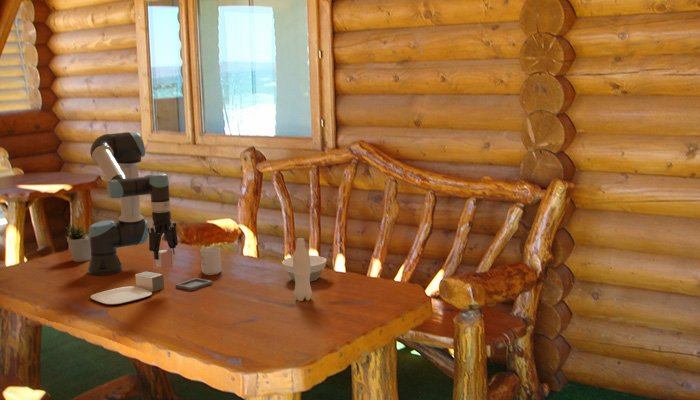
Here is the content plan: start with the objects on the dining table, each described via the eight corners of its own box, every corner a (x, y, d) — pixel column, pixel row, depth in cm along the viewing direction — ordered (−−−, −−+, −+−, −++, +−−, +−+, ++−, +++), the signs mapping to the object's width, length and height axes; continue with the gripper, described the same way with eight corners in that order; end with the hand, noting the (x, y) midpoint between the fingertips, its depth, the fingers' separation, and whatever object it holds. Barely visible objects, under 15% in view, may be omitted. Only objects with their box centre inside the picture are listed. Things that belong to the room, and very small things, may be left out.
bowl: (301, 288, 346) (300, 269, 345) (274, 279, 361) (273, 261, 359) (336, 278, 359) (335, 260, 357) (308, 270, 373) (307, 253, 372)
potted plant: (74, 256, 416) (70, 218, 412) (99, 256, 414) (96, 218, 410) (62, 263, 403) (58, 223, 400) (88, 263, 402) (84, 223, 398)
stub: (153, 268, 345) (151, 252, 344) (164, 265, 350) (162, 249, 349) (161, 270, 343) (160, 253, 341) (172, 266, 347) (170, 250, 346)
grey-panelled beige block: (136, 287, 355) (135, 274, 353) (147, 284, 359) (146, 271, 358) (153, 291, 348) (152, 277, 347) (164, 288, 353) (163, 274, 352)
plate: (131, 288, 356) (131, 284, 356) (158, 297, 341) (158, 293, 341) (84, 299, 341) (84, 295, 341) (110, 309, 326) (110, 305, 326)
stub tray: (175, 287, 353) (175, 284, 352) (196, 281, 362) (196, 277, 362) (191, 291, 347) (191, 287, 347) (212, 284, 356) (212, 280, 356)
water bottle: (314, 297, 332) (312, 237, 327) (308, 302, 325) (305, 241, 321) (298, 296, 334) (295, 236, 330) (291, 301, 327) (288, 240, 323)
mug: (225, 272, 375) (223, 249, 373) (208, 276, 369) (206, 252, 367) (211, 268, 384) (210, 244, 382) (195, 271, 378) (193, 248, 377)
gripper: (149, 215, 331) (153, 271, 336) (184, 207, 346) (188, 260, 350) (137, 214, 336) (141, 268, 340) (172, 206, 351) (176, 258, 355)
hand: (165, 264), depth 345 cm, fingers closed on stub, 6 cm apart
